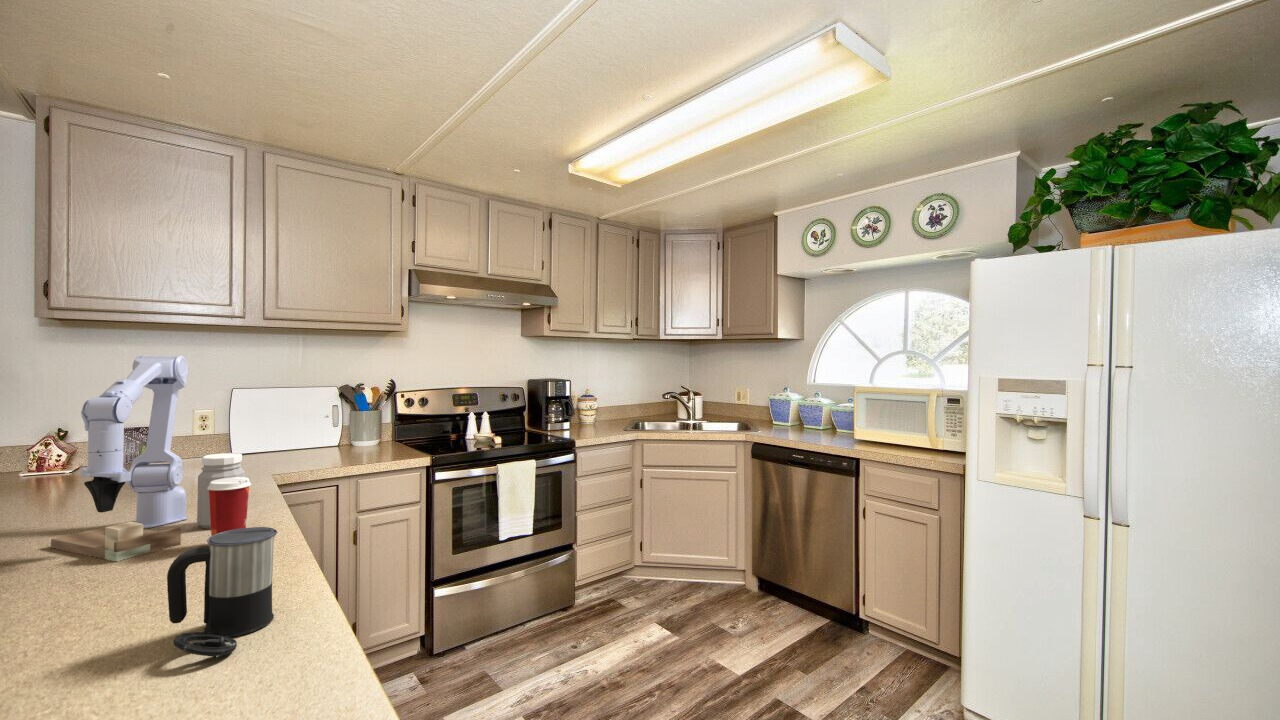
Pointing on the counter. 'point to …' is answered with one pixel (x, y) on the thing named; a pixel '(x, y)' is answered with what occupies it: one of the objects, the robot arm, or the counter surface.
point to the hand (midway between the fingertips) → (105, 511)
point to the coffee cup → (228, 503)
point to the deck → (117, 543)
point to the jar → (213, 470)
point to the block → (122, 533)
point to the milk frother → (226, 589)
